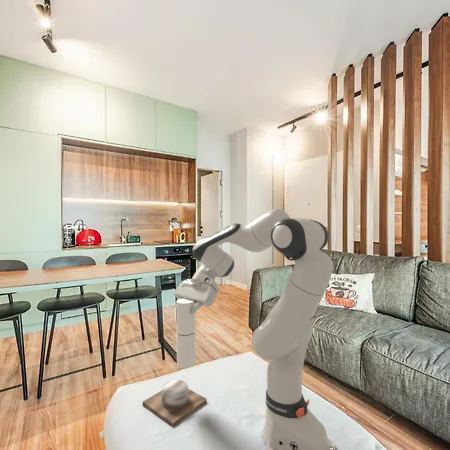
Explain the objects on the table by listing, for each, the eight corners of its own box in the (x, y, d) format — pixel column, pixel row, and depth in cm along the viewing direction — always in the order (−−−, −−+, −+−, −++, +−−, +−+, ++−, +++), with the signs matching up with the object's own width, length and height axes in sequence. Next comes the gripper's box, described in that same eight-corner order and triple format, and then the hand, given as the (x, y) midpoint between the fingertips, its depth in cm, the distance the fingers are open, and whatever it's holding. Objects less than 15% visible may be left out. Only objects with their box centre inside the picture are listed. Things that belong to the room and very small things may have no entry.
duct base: (206, 401, 106) (206, 385, 106) (172, 426, 93) (172, 408, 93) (176, 384, 117) (176, 370, 117) (142, 404, 104) (142, 388, 104)
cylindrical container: (185, 370, 103) (185, 304, 103) (173, 364, 107) (172, 301, 107) (198, 362, 108) (198, 300, 108) (186, 357, 113) (185, 297, 113)
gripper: (181, 274, 120) (163, 301, 112) (215, 280, 106) (197, 311, 99) (189, 283, 123) (172, 309, 115) (223, 289, 110) (206, 320, 102)
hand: (184, 310), depth 107 cm, fingers closed on cylindrical container, 7 cm apart
